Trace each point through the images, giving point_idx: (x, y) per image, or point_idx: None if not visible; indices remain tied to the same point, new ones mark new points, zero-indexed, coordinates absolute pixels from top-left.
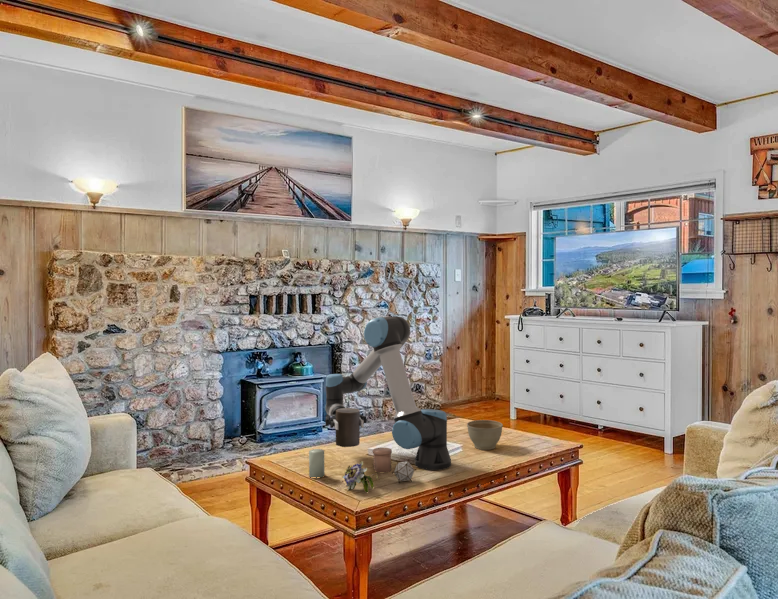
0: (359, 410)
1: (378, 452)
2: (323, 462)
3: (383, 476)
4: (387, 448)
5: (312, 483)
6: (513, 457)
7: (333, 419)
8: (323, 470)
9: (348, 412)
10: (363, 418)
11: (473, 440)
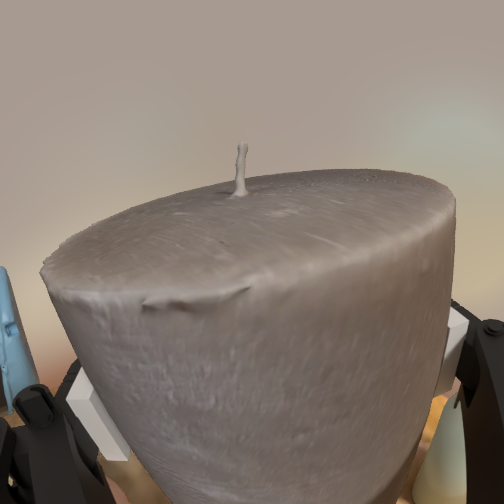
0: (85, 229)
1: (111, 484)
2: (428, 450)
3: (152, 482)
4: None
5: (432, 420)
6: None
7: (480, 344)
8: (419, 470)
9: (248, 178)
10: (25, 428)
11: None
